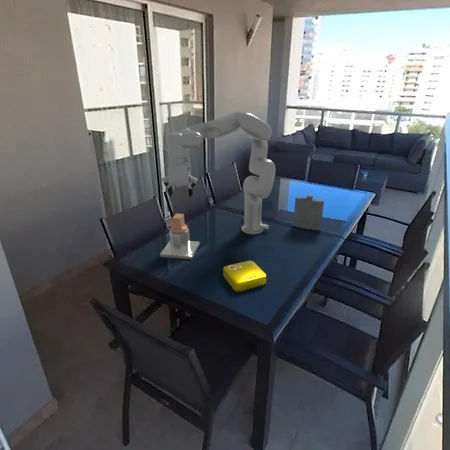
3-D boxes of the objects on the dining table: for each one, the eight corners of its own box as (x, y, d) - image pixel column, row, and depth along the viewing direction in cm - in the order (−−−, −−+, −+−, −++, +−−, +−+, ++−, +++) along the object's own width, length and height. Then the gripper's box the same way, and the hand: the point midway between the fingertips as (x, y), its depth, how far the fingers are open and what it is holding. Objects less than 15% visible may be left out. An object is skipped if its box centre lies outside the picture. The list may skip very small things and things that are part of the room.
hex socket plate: (199, 244, 170) (198, 224, 165) (191, 259, 155) (190, 238, 151) (170, 242, 172) (169, 222, 168) (160, 256, 158) (158, 236, 153)
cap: (190, 232, 164) (188, 213, 159) (185, 239, 156) (184, 219, 152) (174, 231, 165) (172, 212, 161) (168, 238, 157) (167, 218, 153)
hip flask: (321, 228, 186) (325, 196, 178) (319, 231, 183) (323, 198, 174) (293, 224, 192) (296, 192, 184) (292, 226, 189) (294, 194, 181)
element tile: (235, 293, 131) (236, 283, 129) (221, 274, 144) (221, 265, 142) (267, 284, 136) (268, 275, 134) (251, 267, 149) (251, 258, 147)
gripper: (198, 158, 149) (200, 193, 156) (162, 158, 151) (166, 192, 159) (194, 162, 142) (196, 199, 149) (156, 162, 145) (161, 197, 152)
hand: (180, 195), depth 154 cm, fingers open, 9 cm apart
